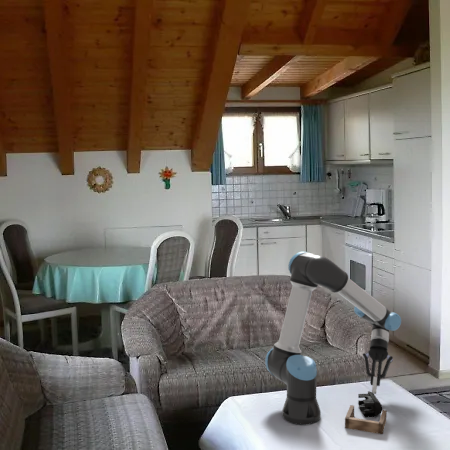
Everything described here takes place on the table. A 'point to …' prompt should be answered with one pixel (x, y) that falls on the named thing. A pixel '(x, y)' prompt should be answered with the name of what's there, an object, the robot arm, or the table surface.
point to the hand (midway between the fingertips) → (374, 392)
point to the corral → (365, 422)
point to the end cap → (369, 405)
